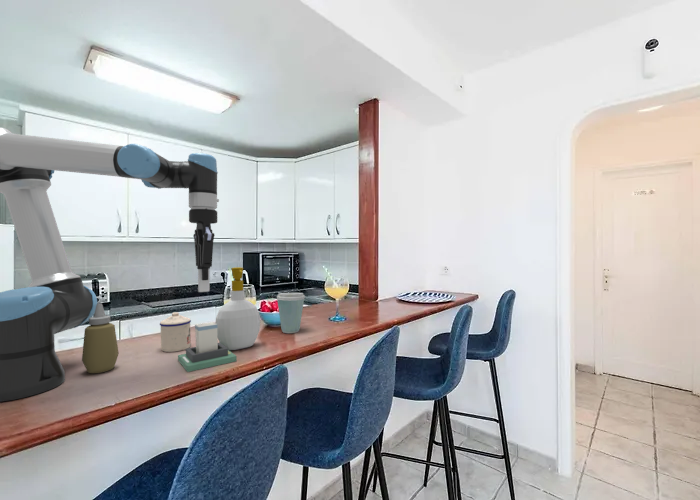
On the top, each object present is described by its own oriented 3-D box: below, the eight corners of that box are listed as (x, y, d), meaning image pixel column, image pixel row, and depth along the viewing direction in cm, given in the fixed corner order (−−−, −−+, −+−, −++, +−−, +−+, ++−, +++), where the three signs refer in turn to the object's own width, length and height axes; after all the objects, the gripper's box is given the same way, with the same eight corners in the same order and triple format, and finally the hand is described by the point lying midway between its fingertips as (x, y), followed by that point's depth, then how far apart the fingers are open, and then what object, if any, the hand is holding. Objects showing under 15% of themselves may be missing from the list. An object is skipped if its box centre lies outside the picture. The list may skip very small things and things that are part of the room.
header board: (187, 372, 90) (187, 358, 90) (178, 360, 100) (177, 348, 100) (236, 361, 98) (236, 348, 98) (223, 351, 108) (223, 340, 107)
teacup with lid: (194, 348, 111) (193, 312, 111) (163, 354, 105) (162, 316, 105) (185, 340, 120) (185, 307, 120) (156, 345, 115) (155, 311, 115)
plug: (199, 359, 96) (198, 327, 95) (195, 355, 99) (194, 324, 99) (219, 355, 99) (218, 324, 99) (215, 351, 102) (214, 321, 102)
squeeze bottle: (81, 369, 93) (79, 303, 93) (117, 362, 98) (115, 300, 98) (82, 378, 87) (80, 307, 87) (120, 370, 92) (119, 303, 92)
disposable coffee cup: (277, 328, 135) (276, 291, 135) (305, 327, 137) (304, 289, 137) (276, 335, 125) (275, 294, 124) (306, 334, 127) (305, 293, 126)
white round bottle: (219, 355, 103) (218, 269, 102) (212, 348, 110) (210, 267, 110) (265, 347, 111) (264, 266, 111) (256, 341, 118) (254, 265, 118)
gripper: (223, 208, 95) (224, 292, 96) (210, 211, 106) (211, 288, 106) (194, 206, 91) (195, 295, 91) (184, 210, 101) (184, 290, 101)
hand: (203, 291), depth 98 cm, fingers closed
